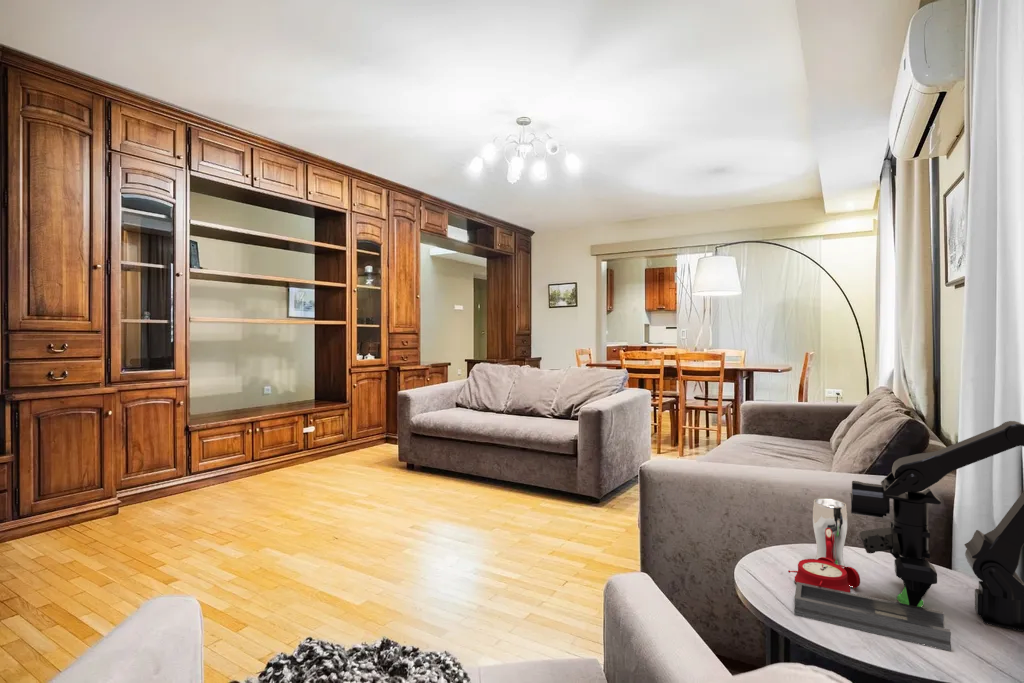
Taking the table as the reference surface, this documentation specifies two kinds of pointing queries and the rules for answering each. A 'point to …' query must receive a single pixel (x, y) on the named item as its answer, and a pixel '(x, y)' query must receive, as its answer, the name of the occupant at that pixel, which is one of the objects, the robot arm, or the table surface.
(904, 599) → the game piece
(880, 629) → the track
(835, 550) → the beer glass
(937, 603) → the table surface
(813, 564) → the alarm clock
